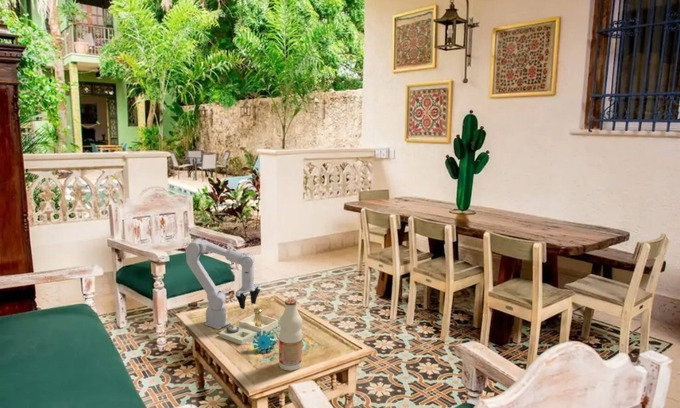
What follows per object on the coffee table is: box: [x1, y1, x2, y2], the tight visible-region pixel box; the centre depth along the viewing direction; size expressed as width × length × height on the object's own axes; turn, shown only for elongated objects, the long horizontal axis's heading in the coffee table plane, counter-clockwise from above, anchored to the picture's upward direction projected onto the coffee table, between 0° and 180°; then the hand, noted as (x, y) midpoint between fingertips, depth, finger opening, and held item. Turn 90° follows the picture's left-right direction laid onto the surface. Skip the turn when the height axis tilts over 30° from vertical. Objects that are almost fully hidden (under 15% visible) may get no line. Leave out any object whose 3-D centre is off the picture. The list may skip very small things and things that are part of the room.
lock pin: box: [253, 307, 263, 328], centre depth 226 cm, size 4×4×9 cm
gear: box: [252, 331, 279, 354], centre depth 206 cm, size 11×6×10 cm
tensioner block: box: [218, 324, 258, 346], centre depth 216 cm, size 14×10×4 cm
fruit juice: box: [278, 298, 303, 371], centre depth 190 cm, size 9×9×28 cm
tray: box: [238, 313, 279, 336], centre depth 227 cm, size 14×12×4 cm
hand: (247, 305), depth 228 cm, fingers open, 7 cm apart
